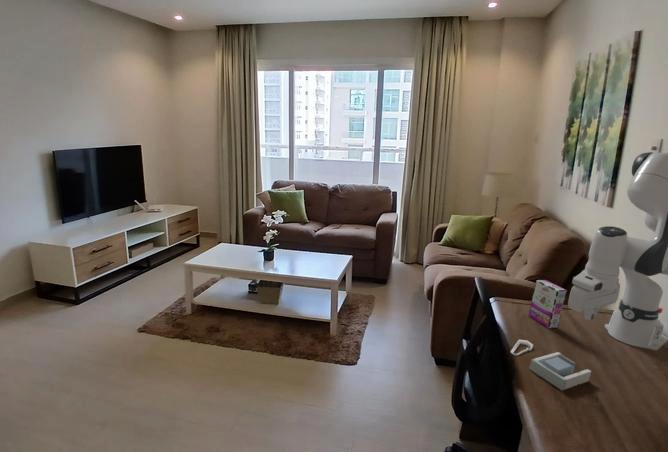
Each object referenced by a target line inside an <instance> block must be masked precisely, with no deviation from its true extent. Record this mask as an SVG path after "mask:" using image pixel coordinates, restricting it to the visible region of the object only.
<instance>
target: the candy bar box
mask: <svg viewBox="0 0 668 452" xmlns="http://www.w3.org/2000/svg"><path fill="white" fill-rule="evenodd" d="M567 293H568V290H567V289H565V288H563V287H561V286H559V285H557V284H555V283H552V282H551V281H549V280H546V279H538V280H536V281H535V287H534V290H533V295H532V299H531V303H530V309H529V312H528V317H529V318H531V319H533V320H534V321H536V322H537V321H538V322H537V323H539V324H541V325H542V326H544V327H545V328H547V329H558V328H559V324H560V320H561V316H562V312H563V308H564V303H565V299H566V296H567Z"/></svg>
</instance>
